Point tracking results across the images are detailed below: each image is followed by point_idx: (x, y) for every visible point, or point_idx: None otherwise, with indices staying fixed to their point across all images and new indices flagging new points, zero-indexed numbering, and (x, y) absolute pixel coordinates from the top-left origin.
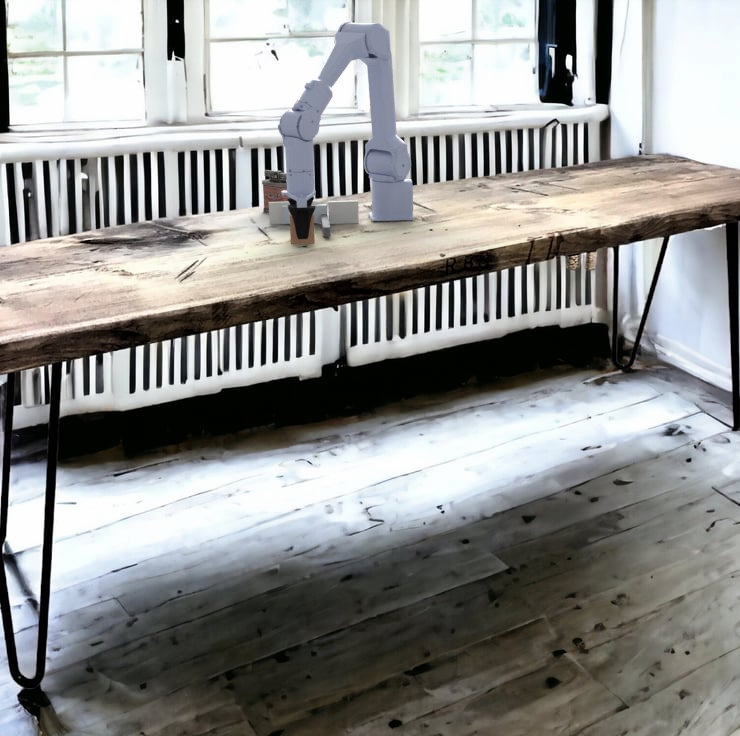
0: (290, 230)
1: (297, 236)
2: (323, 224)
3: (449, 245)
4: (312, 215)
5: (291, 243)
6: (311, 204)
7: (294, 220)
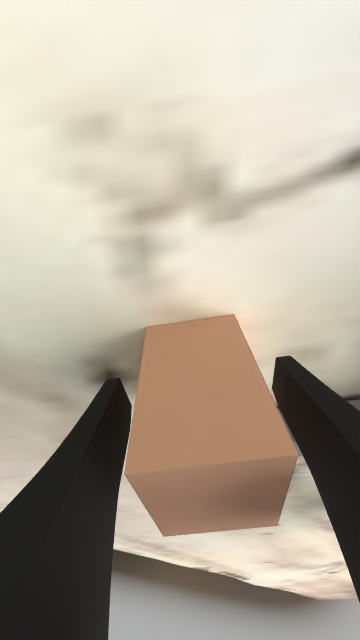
0: (139, 374)
1: (99, 390)
2: (295, 444)
3: (162, 540)
4: (163, 531)
5: (146, 330)
6: (347, 562)
7: (29, 487)
